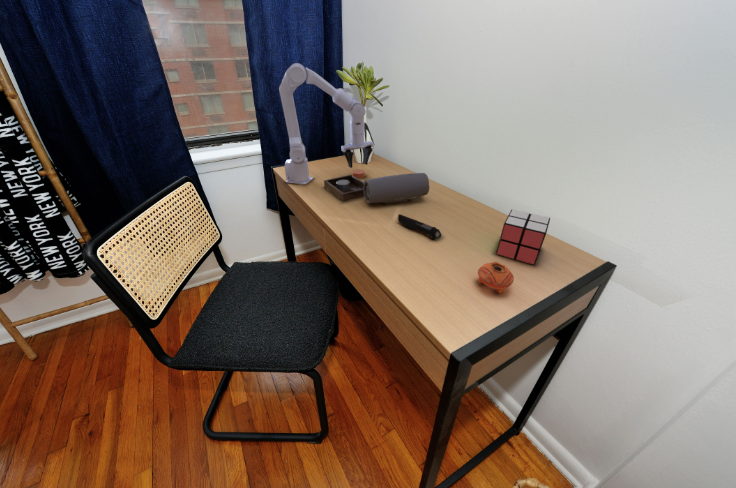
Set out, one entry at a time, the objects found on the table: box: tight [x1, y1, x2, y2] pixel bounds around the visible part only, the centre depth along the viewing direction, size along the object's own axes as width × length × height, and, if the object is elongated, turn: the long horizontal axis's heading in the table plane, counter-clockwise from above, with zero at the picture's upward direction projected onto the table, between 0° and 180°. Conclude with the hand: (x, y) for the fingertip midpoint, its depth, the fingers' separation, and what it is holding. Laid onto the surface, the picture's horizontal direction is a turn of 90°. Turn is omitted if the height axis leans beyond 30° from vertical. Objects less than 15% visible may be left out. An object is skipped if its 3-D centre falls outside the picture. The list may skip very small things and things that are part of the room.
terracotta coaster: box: [351, 169, 366, 179], centre depth 136 cm, size 6×6×2 cm
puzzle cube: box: [495, 209, 551, 266], centre depth 84 cm, size 10×10×10 cm
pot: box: [477, 261, 515, 294], centre depth 73 cm, size 8×8×7 cm
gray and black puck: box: [336, 180, 350, 190], centre depth 125 cm, size 6×6×2 cm
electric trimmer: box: [397, 213, 442, 241], centre depth 96 cm, size 4×16×3 cm, turn 45°
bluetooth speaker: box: [363, 172, 430, 205], centre depth 113 cm, size 23×9×10 cm, turn 108°
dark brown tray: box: [323, 174, 365, 203], centre depth 122 cm, size 17×13×3 cm
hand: (358, 165), depth 134 cm, fingers open, 7 cm apart
